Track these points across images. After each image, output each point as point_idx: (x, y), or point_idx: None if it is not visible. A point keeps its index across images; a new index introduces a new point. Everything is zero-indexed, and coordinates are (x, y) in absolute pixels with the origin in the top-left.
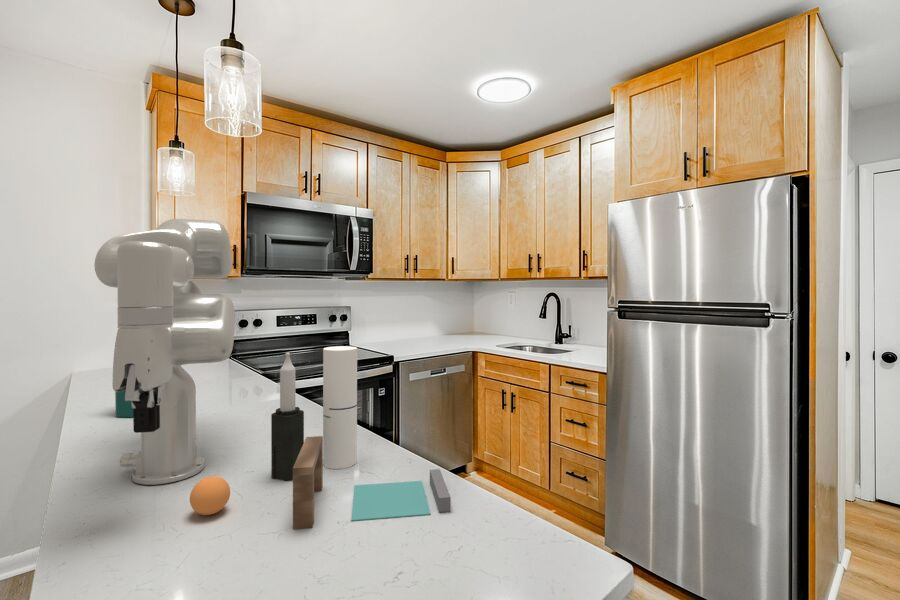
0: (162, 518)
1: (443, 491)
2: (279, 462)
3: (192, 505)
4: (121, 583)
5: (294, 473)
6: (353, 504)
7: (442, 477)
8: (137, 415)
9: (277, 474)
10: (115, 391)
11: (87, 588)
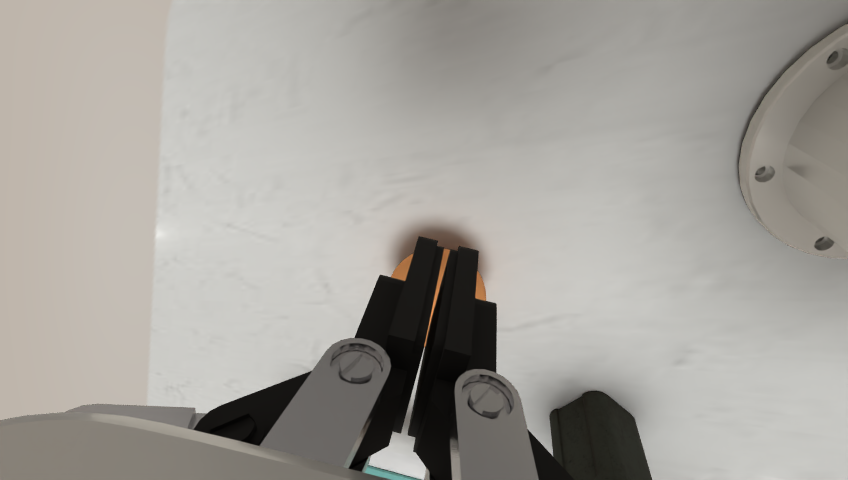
0: (458, 169)
1: None
2: (577, 442)
3: (407, 257)
4: (187, 137)
5: None
6: (374, 470)
7: None
8: (361, 324)
9: (579, 409)
10: (24, 417)
11: (176, 75)
